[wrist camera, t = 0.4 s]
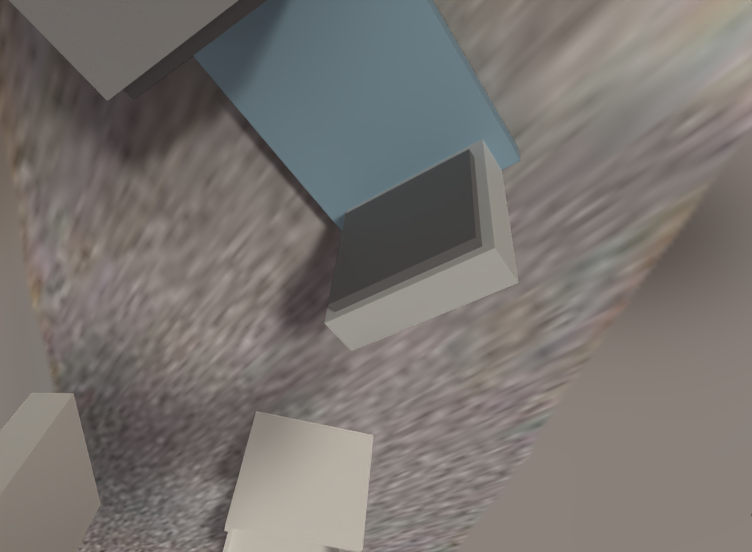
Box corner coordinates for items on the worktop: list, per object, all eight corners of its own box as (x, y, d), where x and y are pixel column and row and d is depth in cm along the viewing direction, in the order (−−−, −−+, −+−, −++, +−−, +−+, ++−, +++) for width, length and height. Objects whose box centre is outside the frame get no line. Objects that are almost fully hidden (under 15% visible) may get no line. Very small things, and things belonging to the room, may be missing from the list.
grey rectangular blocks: (323, 550, 74) (309, 652, 66) (232, 533, 73) (205, 635, 64) (373, 433, 58) (362, 550, 49) (256, 409, 56) (225, 524, 48)
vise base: (269, -281, 25) (182, -290, 17) (518, 147, 37) (542, 272, 28) (83, -96, 30) (-59, -29, 22) (354, 230, 42) (333, 358, 33)
